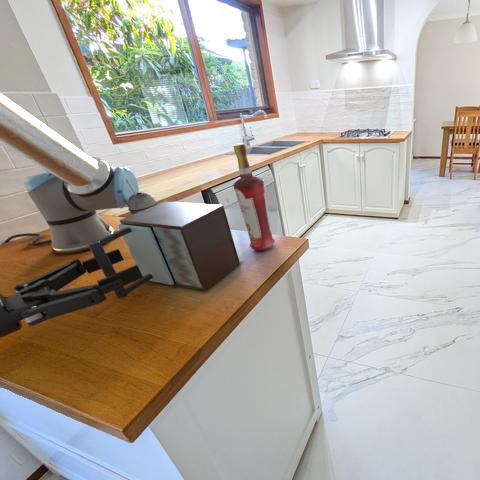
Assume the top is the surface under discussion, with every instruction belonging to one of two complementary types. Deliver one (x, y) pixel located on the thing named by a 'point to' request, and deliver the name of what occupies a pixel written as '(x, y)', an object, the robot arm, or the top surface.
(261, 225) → the liquor
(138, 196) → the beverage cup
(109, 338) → the top surface
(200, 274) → the cabinet
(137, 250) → the glass door
